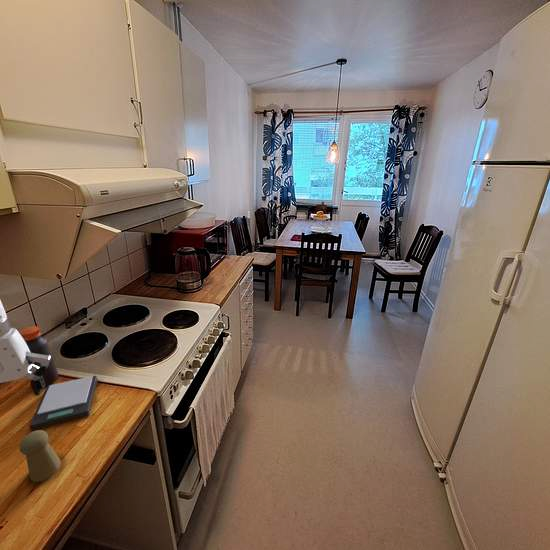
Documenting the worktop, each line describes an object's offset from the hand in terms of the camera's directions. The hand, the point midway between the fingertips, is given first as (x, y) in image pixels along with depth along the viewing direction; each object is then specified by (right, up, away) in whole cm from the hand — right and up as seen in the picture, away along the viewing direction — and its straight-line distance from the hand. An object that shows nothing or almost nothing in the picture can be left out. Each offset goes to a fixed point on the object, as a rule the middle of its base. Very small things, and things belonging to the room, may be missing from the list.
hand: (13, 396), depth 63 cm
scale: (-7, -13, +26) cm, 30 cm away
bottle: (-21, -10, +35) cm, 42 cm away
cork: (+1, -21, +7) cm, 22 cm away
